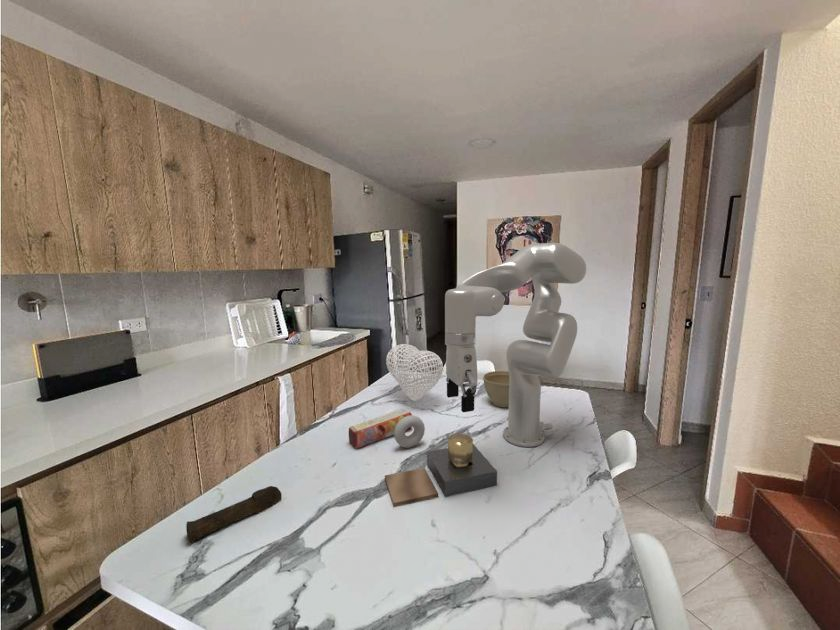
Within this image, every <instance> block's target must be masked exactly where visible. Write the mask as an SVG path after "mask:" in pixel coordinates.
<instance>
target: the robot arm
mask: <svg viewBox="0 0 840 630" xmlns="http://www.w3.org/2000/svg"><path fill="white" fill-rule="evenodd" d="M586 274H587V264H586V261H585V260H584V258H583V256H581V255H580V254H578V253H577V252H575V251H574V250H573V249H572V248H570V247H568V246H566V245H564V244H562V243H558V242H545V243H544V242H540V243H530V244H527V245H524V246H523V247H521V249H519V250H518V251H516V252H515V253H514V254H512V255H511V256H510V257H508V258H507V259H505V261H503V262H502V263H499V264H497V265H495V266H492V267H490V268H487V269H484V270H482V271H480V272H479V271H478V272H476V273H475V274H471V276H469V277H467V278H466V279H465V280H463V281H461V283H459V284H458V285H457V286H456V287H455V288H452V289H448V290H447V291H446V292H445V294H444V345H446V353H445V374H446V379H445V380H446V397H447V398H456V397H458V396H459V388H460V390H461V393H462V395H461V397H460V398H461V399H460V401H461V402H460V403H461V404H460V407H461V409H460V411H461V412H462V413H468V412H474V410H475V397H476V392H477V387H478V361H477V359H478V357H477V352H476V320H477V319H476V318H477V317H492V316H495V315H497V314H499V313H500V312H501V311H502V309H503V307H504V304H505V299H504V296H503V294H502V293H507V292H511V291H515V290H518V289H520V288H522V287H523V286H524V285H525V284H526V283H527V282H528V281H530V280H531V281H532V285H533V289H534V295H533V296H534V297H533V300H532V303H531V304H530V305H531V306H530V307H529V310H528V312H527V314H526V316H525V320H524V323H523V325H522V326H523V327H522V332H523V334H524V336H525V337H527V338H528V339H531V340H526V339H517V340H514V341H512V342H511V343H510V344H509V345H508V347H507V349H506V354H505V355H506V363H507V368H508V371H509V407H508V413H507V414H508V415H507V417H508V419H507V420H508V421H507V424H508V425H507V426H506V427H505V428H504V429H503V431H502V436H503V438H504V439H505V440H506V441H507V442H508V443H510V444H512V445H514V446H518V447H525V448H532V447H537V446H540V445H542V444H543V443H544V441H545V435H544V434H543V432H545V431H550V430H552V429H553V425H552V423H551V422H550V423H549V422H548V423H544V421H543V420H542V421H541V420H540V418H541V392H542V385H541V381H540V378H539V376H541V377H544V378H548V379H556V378H559V377H560V376H561V375H562V374H563V373H564V370H565V369H566V366H567V363H568V361H569V358H570V355H571V353H572V349H573V347H574V344H575V342H576V339H577V334H578V322H577V319H576V318H575V317H574V316H573V315H571V314H569V313H566V312H559V311H560V308H561V305H562V298H561V295H560V293H559V291H558V289H557V288H556V287H555V284H568V285H569V284H570V285H571V284H572V285H574V284H578V283H580V282H581V281H583V280H584V278H585V276H586ZM532 340H533V341H532ZM534 340H535V341H534ZM539 341H540V342H539ZM541 342H544V343H541ZM546 343H550V344H546ZM466 388H467V389H466Z"/></svg>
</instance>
